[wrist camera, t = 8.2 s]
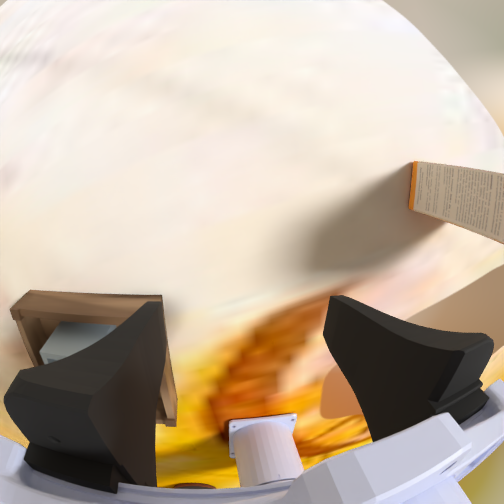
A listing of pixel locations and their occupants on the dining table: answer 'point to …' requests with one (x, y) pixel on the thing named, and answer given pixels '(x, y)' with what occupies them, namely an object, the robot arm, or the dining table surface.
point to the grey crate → (72, 339)
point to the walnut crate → (94, 312)
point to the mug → (194, 486)
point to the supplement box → (460, 197)
